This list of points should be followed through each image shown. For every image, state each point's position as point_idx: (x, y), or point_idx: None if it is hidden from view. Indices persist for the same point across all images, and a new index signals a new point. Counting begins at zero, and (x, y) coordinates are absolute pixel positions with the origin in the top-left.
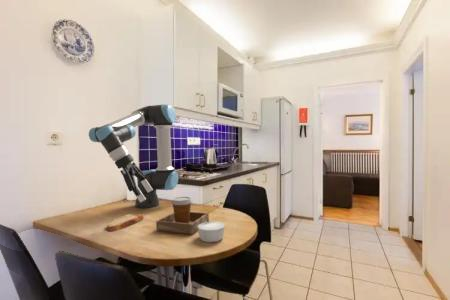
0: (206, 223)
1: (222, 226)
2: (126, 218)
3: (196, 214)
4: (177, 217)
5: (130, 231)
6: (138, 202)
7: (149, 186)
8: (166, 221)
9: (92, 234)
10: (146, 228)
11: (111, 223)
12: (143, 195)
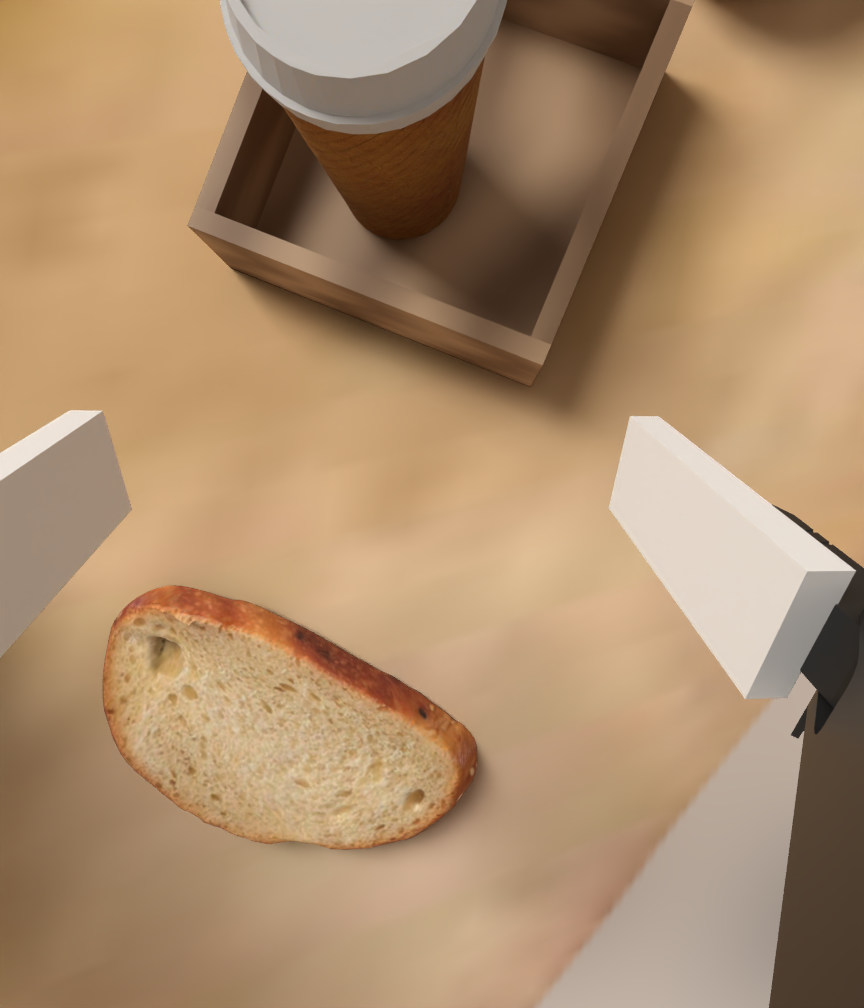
0: None
1: None
2: (222, 733)
3: None
4: (458, 166)
5: (501, 605)
6: None
7: (49, 465)
8: (565, 259)
9: (529, 894)
10: (444, 489)
11: (352, 825)
12: (678, 447)
